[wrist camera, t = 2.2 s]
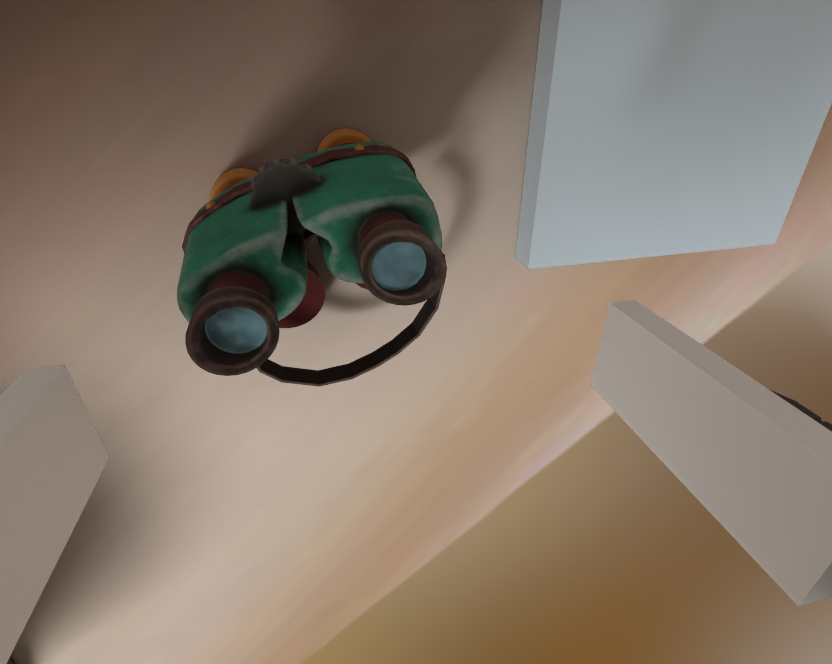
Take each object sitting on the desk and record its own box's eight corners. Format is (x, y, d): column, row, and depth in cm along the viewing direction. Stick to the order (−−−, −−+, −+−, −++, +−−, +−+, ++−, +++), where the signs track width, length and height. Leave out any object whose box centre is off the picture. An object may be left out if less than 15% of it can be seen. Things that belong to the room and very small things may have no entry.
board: (515, 258, 23) (528, 269, 22) (558, -144, 16) (582, -163, 15) (751, 236, 26) (774, 244, 25) (880, -110, 19) (923, -125, 18)
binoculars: (288, 530, 15) (67, 299, 9) (281, 348, 23) (163, 163, 17) (530, 429, 16) (476, 141, 9) (438, 285, 24) (378, 82, 18)
